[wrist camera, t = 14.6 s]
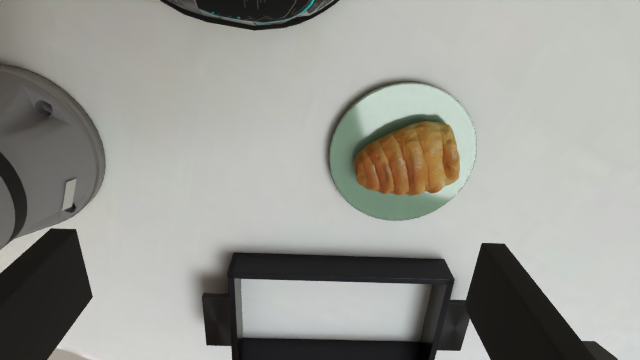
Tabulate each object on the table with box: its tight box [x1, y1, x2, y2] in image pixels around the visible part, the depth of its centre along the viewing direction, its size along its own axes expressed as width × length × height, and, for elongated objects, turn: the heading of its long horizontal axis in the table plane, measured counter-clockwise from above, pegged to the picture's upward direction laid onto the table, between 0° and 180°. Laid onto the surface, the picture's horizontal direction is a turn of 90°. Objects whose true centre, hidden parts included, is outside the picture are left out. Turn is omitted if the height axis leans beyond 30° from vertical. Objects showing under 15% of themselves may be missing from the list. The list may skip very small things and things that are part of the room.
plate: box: [330, 82, 477, 221], centre depth 37 cm, size 14×14×1 cm
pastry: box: [354, 121, 460, 196], centre depth 35 cm, size 9×7×4 cm
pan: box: [202, 253, 470, 360], centre depth 44 cm, size 29×13×4 cm, turn 87°
